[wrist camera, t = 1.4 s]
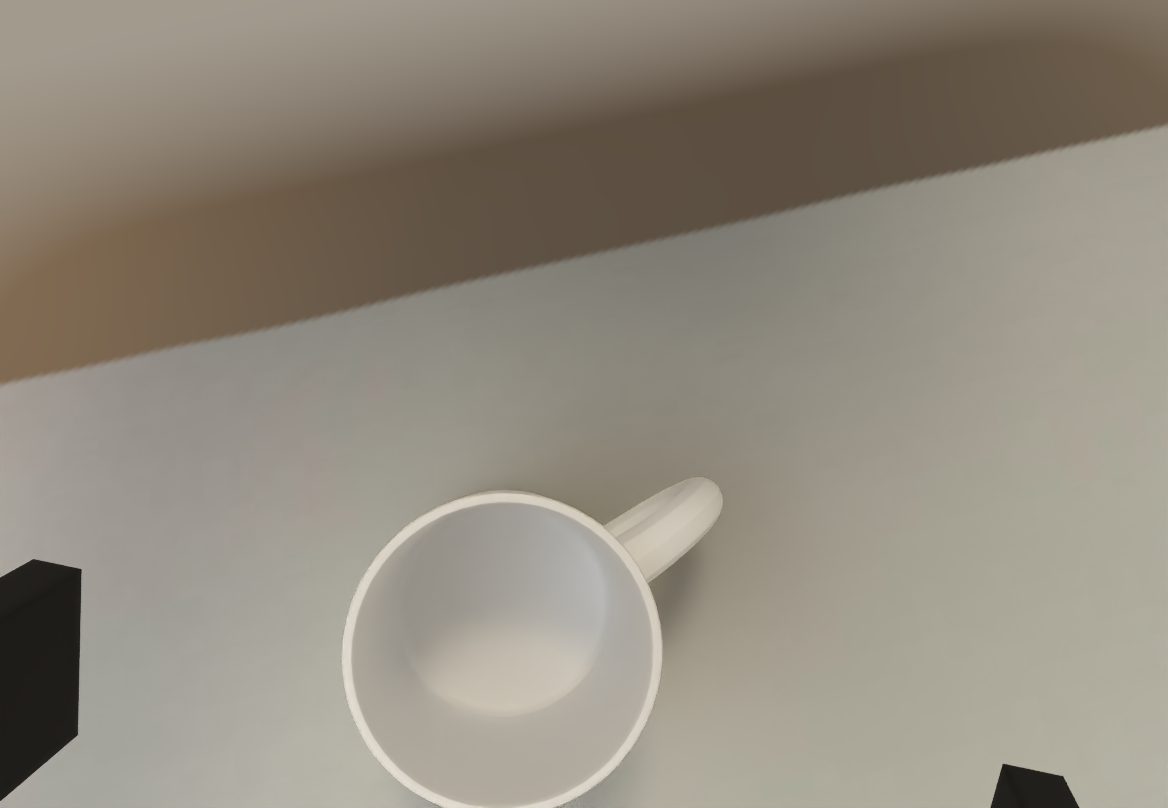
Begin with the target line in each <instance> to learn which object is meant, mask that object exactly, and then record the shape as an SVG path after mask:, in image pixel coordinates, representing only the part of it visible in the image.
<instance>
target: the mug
mask: <svg viewBox="0 0 1168 808" xmlns="http://www.w3.org/2000/svg"><path fill="white" fill-rule="evenodd" d="M722 507H723V497H722V494H721V492H720V489H719V487H718V486H717V485H716V484H715V483H714V482H713V481H711V480H709V479H706V478H703V477H693V478H689V479H686V480H684V481H681V482H679V483H677V484H674V485H672V486H670V487H668V488H666V489H664V490H662V491H660V492H659V493H657V494H655V495H653V496H651V497H650V498H648V499H646V500H645V501H643V502H641V503H640V504H638V505H636V506H635V507H633V508H631V509H630V510H628V511H626V512H625V513H623V514H622V515H620V516H618V517H617V518H615V519H613V520H612V521H610V522H608V523H607V524H605V525H604V526H602V525H601V524H600V523H599V522H597V521H596V520H594V519H593V518H591V517H589V516H588V515H586V514H585V513H583V512H581V511H580V510H578V509H575V508H573V507H571V506H569V505H567V504H564V503H562V502H560V501H556V500H553V499H550V498H547V497H544V496H540V495H537V494H534V493H529V492H523V491H517V490H494V491H484V492H480V493H476V494H471V495H468V496H465V497H462V498H459V499H457V500H454V501H451V502H449V503H446V504H443V505H441V506H438V507H436V508H435V509H433V510H431V511H429V512H427V513H425V514H423V515H421V516H420V517H418V518H417V519H415V520H414V521H413V522H411V523H410V524H408V525H407V526H406V527H404V528H403V529H402V530H401V531H400V532H399V533H397V534H396V535H395V536H394V537H393V538H392V539H391V540H390V541H389V542H388V543H387V544H386V545H385V546H384V547H383V549H382V550H381V551H380V552H379V553H378V555H377V556H376V557H375V558H374V559H373V561H372V563H371V564H370V566H369V567H368V569H367V570H366V572H365V573H364V575H363V577H362V579H361V581H360V583H359V585H358V587H357V589H356V591H355V593H354V595H353V598H352V601H351V604H350V607H349V611H348V614H347V617H346V622H345V627H344V633H343V638H342V656H341V663H342V675H343V684H344V688H345V693H346V698H347V702H348V705H349V708H350V711H351V714H352V717H353V719H354V722H355V724H356V726H357V728H358V730H359V732H360V734H361V736H362V738H363V740H364V742H365V743H366V745H367V746H368V747H369V749H370V750H371V752H372V753H373V755H374V756H375V757H376V759H377V760H378V761H379V762H380V763H381V764H382V765H383V766H384V768H385V769H386V770H387V771H388V772H389V773H390V774H391V775H392V776H393V777H394V778H396V779H397V780H398V781H399V782H401V783H402V784H403V785H404V786H405V787H407V788H408V789H409V790H411V791H413V792H414V793H416V794H418V795H419V796H421V797H422V798H424V799H426V800H428V801H430V802H432V803H435V804H437V805H439V806H441V807H444V808H554V807H557V806H559V805H562V804H564V803H567V802H569V801H571V800H573V799H575V798H576V797H578V796H580V795H582V794H583V793H585V792H587V791H589V790H590V789H591V788H592V787H594V786H595V785H596V784H598V783H599V782H600V781H602V780H603V779H604V778H606V777H607V776H608V775H609V774H610V773H611V772H612V771H613V770H614V769H615V768H616V767H617V766H618V765H619V764H620V763H621V762H622V760H623V759H624V758H625V756H626V755H627V754H628V753H629V751H630V750H631V749H632V748H633V746H634V745H635V743H636V741H637V740H638V738H639V736H640V735H641V733H642V731H643V730H644V728H645V726H646V723H647V721H648V719H649V716H650V714H651V712H652V710H653V707H654V703H655V700H656V696H657V693H658V690H659V685H660V679H661V672H662V662H663V641H662V631H661V623H660V619H659V615H658V610H657V606H656V603H655V600H654V597H653V595H652V592H651V589H650V587H649V584H648V583H649V582H650V581H652V580H653V579H654V578H656V577H657V576H658V575H660V574H661V573H662V572H664V571H665V570H666V569H667V568H669V567H670V566H671V565H672V564H674V563H675V562H676V561H677V560H678V559H679V558H681V557H682V556H683V555H684V554H685V553H686V552H688V551H689V550H690V549H691V548H692V547H693V546H694V545H695V544H696V543H697V542H698V541H699V540H700V539H701V538H702V537H703V536H704V535H705V534H706V533H707V532H708V531H709V530H710V529H711V528H712V526H713V525H714V524H715V522H716V521H717V519H718V517H719V515H720V513H721V510H722Z"/></svg>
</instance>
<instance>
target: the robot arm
mask: <svg viewBox="0 0 1168 808" xmlns="http://www.w3.org/2000/svg"><path fill="white" fill-rule="evenodd" d="M80 613H81V569H78V568H73V567H68V566H64V565H59V564H54V563H49V562H45V561H40V560H35V559H33V560H31V561H29V562H27V563H26V564H24V565H22V566H20V567H18V568H17V569H15V570H13V571H11V572H9V573H8V574H6V575H4V576H2V577H0V801H1V800H2V799H3V798H5V797H6V796H7V795H8V794H9V793H10V792H12V791H13V790H14V789H15V788H16V787H17V786H19V785H20V784H21V783H22V782H23V781H25V780H26V779H27V778H28V777H29V776H30V775H32V774H33V773H34V772H35V771H36V770H37V769H39V768H40V767H41V766H42V765H43V764H44V763H46V762H47V761H48V760H49V759H50V758H51V757H53V756H54V755H55V754H56V753H57V752H58V751H60V750H61V749H62V748H63V747H64V746H65V745H67V744H68V743H69V742H70V741H71V740H72V739H74V738H75V737H76V736H77V735H78V702H79V658H80ZM991 808H1079V806H1078V804H1077V802H1076V800H1075V798H1074V797H1073V795H1072V793H1071V791H1070V789H1069V787H1068V785H1067V783H1066V781H1065V779H1064V777H1063V776H1059V775H1054V774H1049V773H1045V772H1040V771H1035V770H1030V769H1026V768H1021V767H1016V766H1011V765H1007V764H1003V765H1002V769H1001V772H1000V776H999V779H998V783H997V787H996V790H995V794H994V797H993V801H992V804H991Z"/></svg>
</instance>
